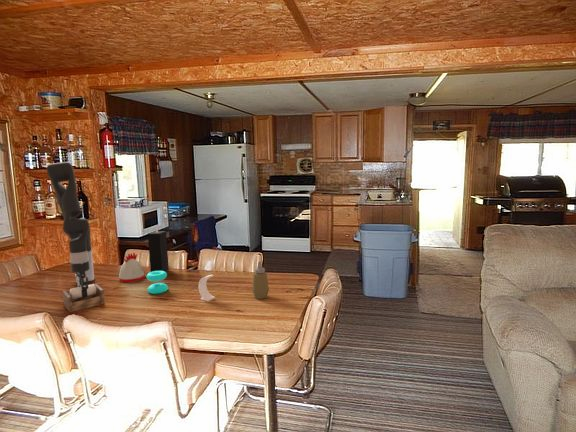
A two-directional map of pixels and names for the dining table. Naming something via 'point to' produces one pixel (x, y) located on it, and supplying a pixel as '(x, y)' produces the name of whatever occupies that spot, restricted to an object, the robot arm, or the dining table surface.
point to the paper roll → (78, 294)
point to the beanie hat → (131, 270)
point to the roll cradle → (84, 300)
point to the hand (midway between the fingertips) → (83, 295)
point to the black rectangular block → (158, 250)
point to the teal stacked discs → (157, 287)
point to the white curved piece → (205, 289)
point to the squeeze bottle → (260, 282)
